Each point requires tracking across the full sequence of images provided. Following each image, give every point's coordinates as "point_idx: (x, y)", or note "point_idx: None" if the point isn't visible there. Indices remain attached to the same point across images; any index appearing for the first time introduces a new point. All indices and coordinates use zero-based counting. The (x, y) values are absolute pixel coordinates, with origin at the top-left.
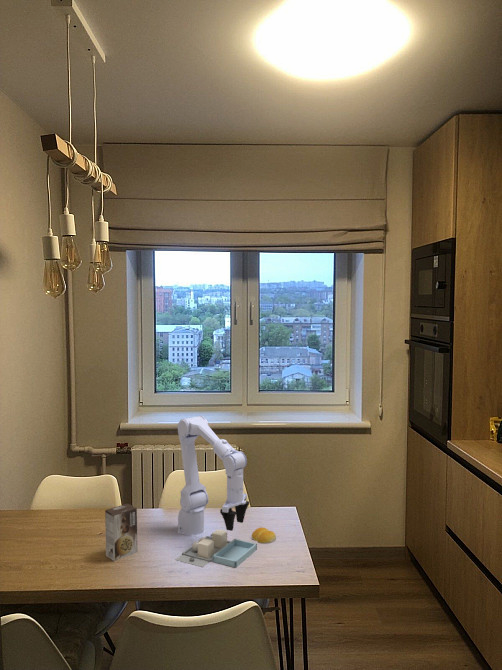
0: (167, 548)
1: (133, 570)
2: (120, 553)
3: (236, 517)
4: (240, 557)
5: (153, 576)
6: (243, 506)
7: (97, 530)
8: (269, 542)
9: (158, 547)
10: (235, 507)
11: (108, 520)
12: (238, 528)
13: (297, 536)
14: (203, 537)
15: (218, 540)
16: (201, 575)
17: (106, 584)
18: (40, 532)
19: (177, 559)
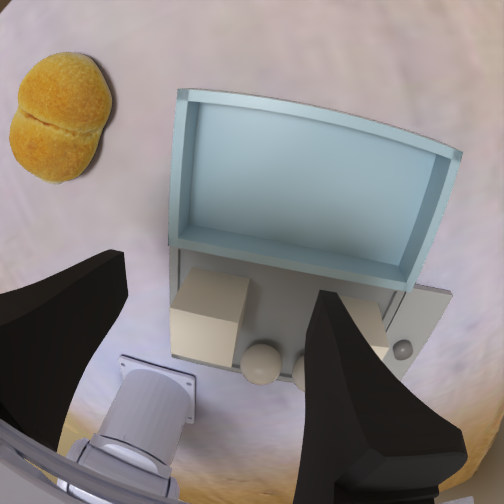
0: (303, 421)
1: None
2: None
3: (111, 325)
4: (410, 135)
5: (478, 386)
6: (15, 356)
7: (256, 496)
8: (93, 62)
9: (303, 435)
10: (68, 402)
11: None
12: (43, 262)
13: (8, 10)
14: (253, 379)
15: (241, 316)
16: (495, 275)
17: (489, 427)
18: None
19: None
